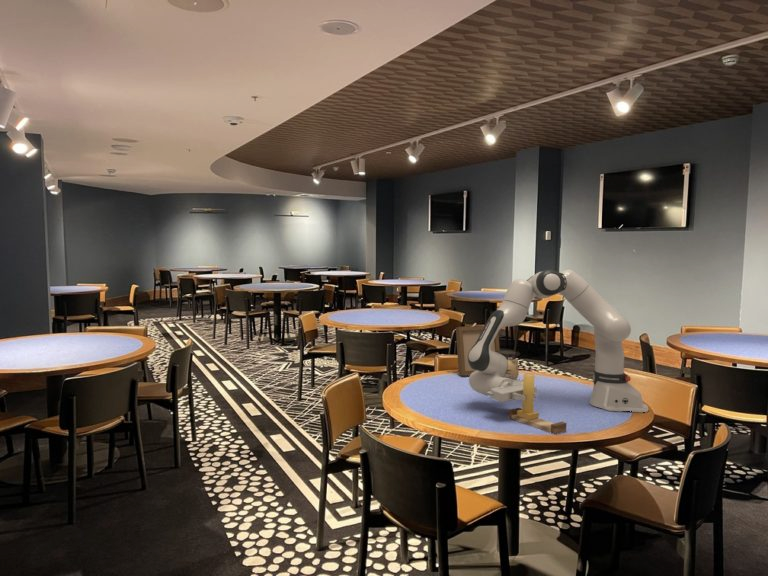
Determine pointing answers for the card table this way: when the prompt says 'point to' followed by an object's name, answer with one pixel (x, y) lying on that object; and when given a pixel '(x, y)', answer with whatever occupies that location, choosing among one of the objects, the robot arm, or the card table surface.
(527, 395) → the keeper
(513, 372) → the kitten
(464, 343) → the photo frame
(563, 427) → the rail
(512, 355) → the coffee can
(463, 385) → the card table surface
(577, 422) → the card table surface
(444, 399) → the card table surface
